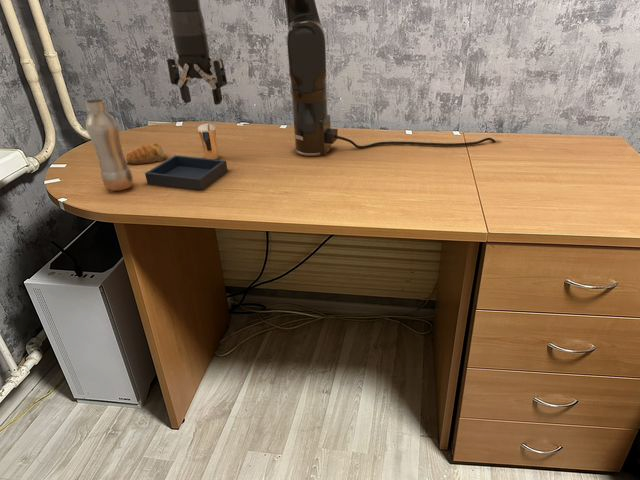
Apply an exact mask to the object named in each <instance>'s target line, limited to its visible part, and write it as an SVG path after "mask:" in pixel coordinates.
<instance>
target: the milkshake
mask: <svg viewBox="0 0 640 480" xmlns="http://www.w3.org/2000/svg"><path fill="white" fill-rule="evenodd" d="M197 131H198V134H199V138H200V141H201V146H202V149H203V152H204V158H206V159H215V160H218V159H219V151H218V150H219V149H218V140H217V139H218V137H217V127H216V126H215V125H214V124H212V123H203V124H200V125H199V126H198V127H197Z"/></svg>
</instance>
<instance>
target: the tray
mask: <svg viewBox="0 0 640 480" xmlns="http://www.w3.org/2000/svg"><path fill="white" fill-rule="evenodd" d="M228 171H229V170H228V165H227V160H224V159H216V160H215V159H206V157H195V156H188V155H187V156H185V155H176V154H175V155H173V156H172V157H169V158H167V159H166V160H165V161H163V162H161V163H160V164H158V165H155V167H153V168H151V169H150V170H148V171H146V172H145V173H144V175H145V179H146V182H147V185H151V186H158V187H159V186H160V187H167V188H175V189H184V190H193V191H199V192H200V191H201V192H203V191H204V190H205V189H206V188H208V187H209V186H210V185H212V184H213V183H214V182H215V181H217V180H219V179H220V178H221V177H222V176H223V175H225V174H226V173H228Z"/></svg>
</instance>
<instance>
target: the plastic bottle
mask: <svg viewBox="0 0 640 480" xmlns="http://www.w3.org/2000/svg"><path fill="white" fill-rule="evenodd" d="M85 107H86V111H87V112H88V115H87V117H86V121H85V130H86V133H87V134H88V136H89V139H90V141H91V142H92V145H93V148H94V150H95V153H96V156H97V159H98V164H99V168H100V176H101V181H102V183H103V185H104V187H105V188H106V189H108V190H109V191H124V190H126V189H129V188H131V187H132V185H133V183H134V178H133V176H134V175H133V173H132V171H131V169H130V167H129V166H128V162H127V159H126V158H125V155H124V151H123V148H122V144H121V137H120V129H119V125H118V121H116V119H115V118H114V117H113V116H112V115H111V114H109V112H108V111H107V106H106V103H105V100H104V99H102V98H92V99H88V100H86V101H85Z"/></svg>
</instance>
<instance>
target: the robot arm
mask: <svg viewBox="0 0 640 480" xmlns="http://www.w3.org/2000/svg"><path fill="white" fill-rule="evenodd" d="M283 1H284V6H285V12H286V13H285V14H286V21H287V36H286V44H287V48H286V49H287V58H288V59H287V60H288V70H289V71H288V72H289V79H290V88H291V102H292V105H291V106H292V117H293V132H294V147H295V149H294V151H295V153H296V154H297V155H300V156H304V157H318V156H322V157H323V156H324V157H325V156H326V155H327V154H328V153H329V152H330V151H331V150H332V145H334V143H335V142H336V141H337V140H340V141H345V142H348V143H350V144H351V145H352V146H354V147H355V148H357V149H368V148H372V147H374V146H382V145H413V146H414V145H415V146H435V147H460V146H461V147H462V146H463V147H464V146H474V145H479V144H482V143H484V142H486V141H490V142H492V143H494V144H495V143H497V141H496V140H495V139H494V138H492V137H484V138H483V139H481V140H477V141H470V142H450V143H449V142H422V141H420V142H419V141H395V140H394V141H391V140H390V141H377V142H373V143H370V144H367V145H358V144H356V142H354V141H353V140H351V139H349V138H347V137H344V136H339V135H338V133H339V132H338V128H331V115H330V114H328V113H329V112H328V88H327V86H328V85H327V51H326V46H327V45H326V35H325V30H324V28H323V25H322V22H321V19H320V15H319V12H318V7H317V4H316V0H283ZM166 2H167V8H168V12H169V21H170V27H171V31H172V37H173V42H174V46H175V52H176V54H177V56H178V58H177V57H176V56H173V57H170V58H167V60H166V63H167V68H168V69H167V70H168V76H169V81H170V83H171V85H173V86H174V85H175V86H177V88H179V91H180V96H181V100H182V101H183V103H185V104H189V103H191V102H192V97H191V93H190V87H189V85H188V84H189V82H190V79H195V78H196V79H199V80H202V79H203V80H204V82H205V83H208V85H209V86H210V87H211V92H212V93H211V94H212V99H213V104H214V105H216V106H218V105H220V104H222V102H223V95H222V87H224V86H226V85H227V84H228V79H227V74H226V70H225V65H224V61H223V59H222V58H218V59H211V57H210V47H209V41H208V35H207V28H206V24H205V19H204V16H203V12H202V6H201V1H200V0H166ZM179 67H180V68H181V73H180V69H179ZM212 69H213V70H214V71H213V70H212Z"/></svg>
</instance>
